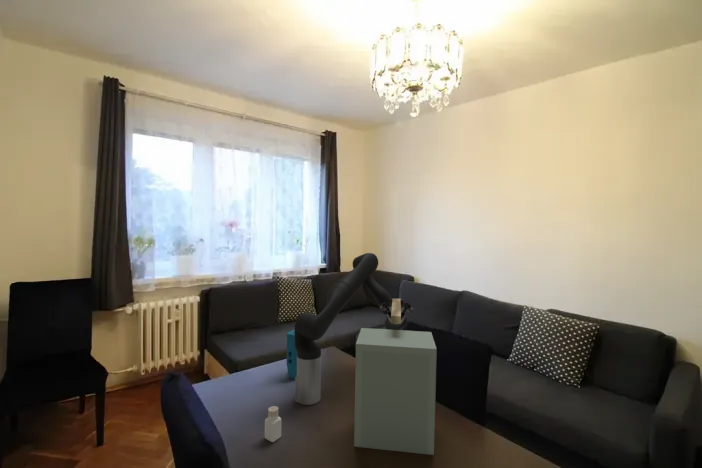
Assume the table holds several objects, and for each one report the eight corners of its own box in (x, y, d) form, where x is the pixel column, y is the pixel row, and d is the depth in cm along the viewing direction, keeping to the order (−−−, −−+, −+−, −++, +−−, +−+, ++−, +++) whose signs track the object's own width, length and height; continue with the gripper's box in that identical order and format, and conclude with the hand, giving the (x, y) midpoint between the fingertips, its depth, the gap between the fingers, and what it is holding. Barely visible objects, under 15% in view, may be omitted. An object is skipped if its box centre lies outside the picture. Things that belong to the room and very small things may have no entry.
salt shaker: (263, 438, 108) (264, 409, 108) (273, 432, 112) (273, 404, 111) (272, 443, 106) (273, 413, 106) (282, 437, 109) (282, 407, 109)
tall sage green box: (354, 446, 105) (355, 343, 104) (359, 417, 121) (361, 327, 120) (433, 455, 102) (436, 349, 101) (428, 423, 118) (431, 332, 117)
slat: (390, 323, 113) (391, 315, 113) (392, 304, 139) (392, 298, 139) (400, 323, 113) (400, 316, 113) (400, 304, 138) (400, 298, 138)
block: (294, 381, 148) (295, 335, 147) (285, 378, 150) (285, 333, 149) (310, 370, 158) (311, 328, 158) (301, 368, 161) (302, 326, 160)
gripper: (380, 304, 150) (378, 291, 135) (412, 305, 148) (415, 293, 133) (379, 321, 146) (377, 310, 131) (412, 323, 144) (415, 312, 129)
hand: (396, 301), depth 132 cm, fingers closed on slat, 3 cm apart
